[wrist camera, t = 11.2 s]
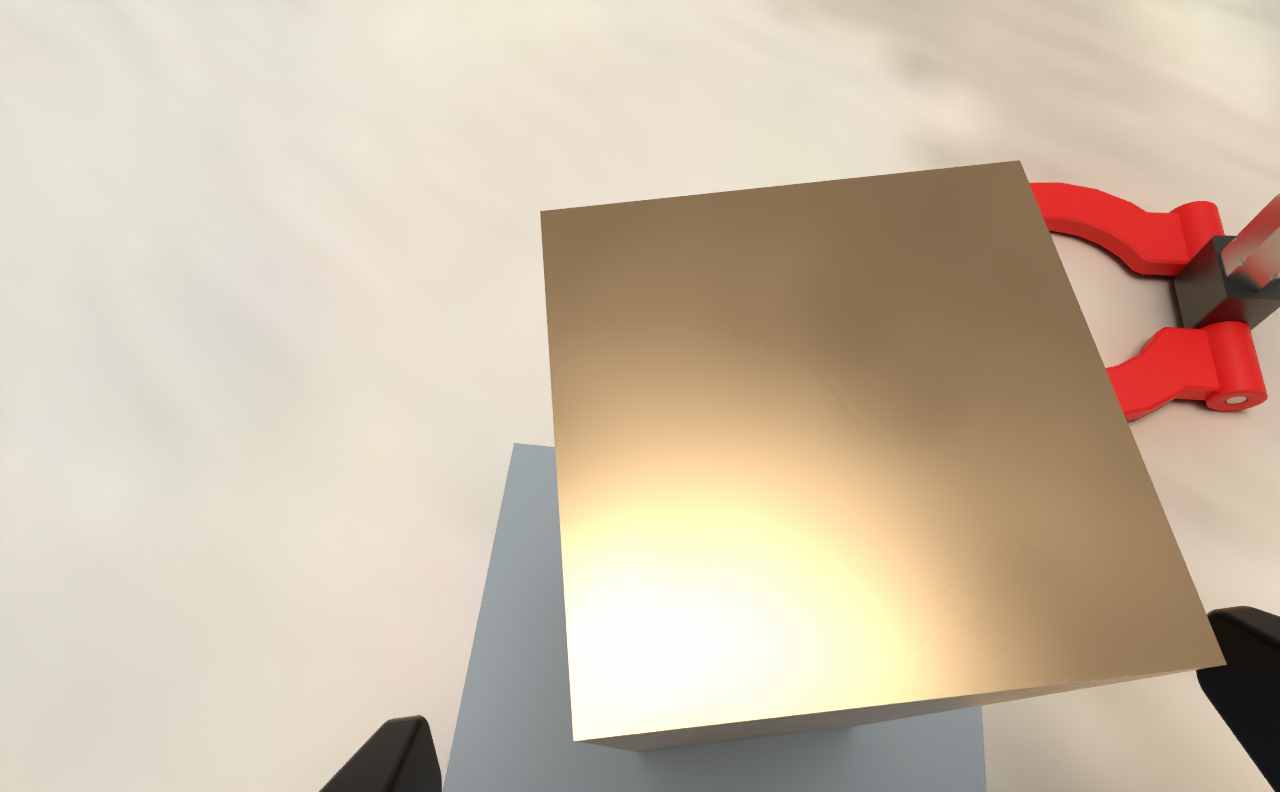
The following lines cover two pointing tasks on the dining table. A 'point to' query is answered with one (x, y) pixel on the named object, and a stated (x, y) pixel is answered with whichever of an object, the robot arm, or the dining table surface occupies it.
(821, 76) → the dining table surface
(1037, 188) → the tow hook
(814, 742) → the mat
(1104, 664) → the gold metal block
